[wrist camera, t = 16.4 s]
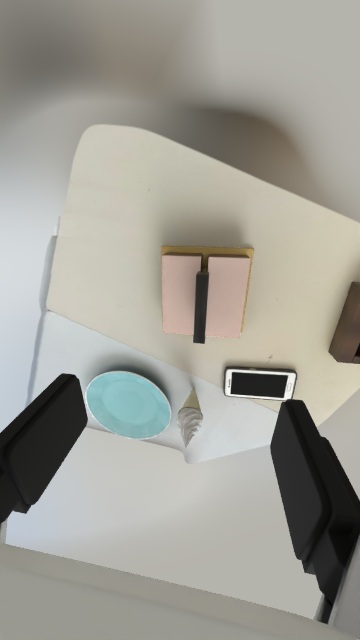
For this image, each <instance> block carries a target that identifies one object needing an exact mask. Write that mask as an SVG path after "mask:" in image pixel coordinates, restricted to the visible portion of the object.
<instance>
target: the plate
mask: <svg viewBox="0 0 360 640" xmlns="http://www.w3.org/2000/svg"><path fill="white" fill-rule="evenodd" d="M86 403H87V407H88V409H89V411H90V413H91V414H92V416H93V417H94V418H95V420H96V421H97V422H98V423H99V424H101V425H102V426H103V427H104V428H106V429H107V430H109V431H111V432H113V433H115V434H117V435H119V436H122V437H125V438H130V439H138V440H142V439H150V438H153V437H156V436H158V435H160V434H161V433H162V432H164V431H165V430H166V428H167V427H168V425H169V424H170V421H171V417H172V411H171V406H170V403H169V401H168V399H167V397H166V396H165V394H164V393H163V392H162V391H161V390H160V389H159V388H158V387H157V386H156V385H155V384H154V383H153V382H151V381H150V380H149V379H147V378H145V377H143V376H141V375H139V374H136V373H133V372H128V371H109V372H105V373H102V374H100V375H98V376H96V377H95V378H93V379H92V380H91V382H90V383H89V384H88V386H87V389H86Z"/></svg>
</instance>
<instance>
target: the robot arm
mask: <svg viewBox="0 0 360 640" xmlns="http://www.w3.org/2000/svg"><path fill="white" fill-rule="evenodd" d="M87 421H88V417H87V413H86V409H85V404H84V400H83V395H82V391H81V386H80V382H79V379H78V378H77V377H76V376H75V375H73V374H64V373H63V374H61V375H59V376H58V377H57V378H56V379H55V380H54V381H53V382H52V383H51V384H50V385H49V386H48V387H47V388H46V389H45V390H44V391H43V392H42V393H41V394H40V395H39V396H38V397H37V398H36V399H35V400H34V401H33V402H32V403H31V404H30V405H29V406H28V407H26V408H25V409H24V410H23V411H22V412H21V413H20V414H19V415H18V417H16V418H15V419H14V420H13V421H12V422H11V423H10V424H9V425H8V426H7V427H6V428H5V429H4V430H3V431H2V432H1V433H0V640H360V501H359V499H358V496H357V495H356V493H355V491H354V489H353V487H352V485H351V483H350V481H349V479H348V477H347V475H346V473H345V471H344V469H343V468H342V466H341V464H340V462H339V460H338V458H337V456H336V454H335V452H334V450H333V448H332V446H331V444H330V443H329V441H328V440H327V439H326V438H325V437H321V436H320V434H319V432H318V430H317V428H316V426H315V424H314V422H313V420H312V418H311V416H310V413H309V411H308V409H307V407H306V405H305V403H304V402H303V401H302V400H294V399H287V400H286V402H282V404H281V407H280V411H279V415H278V418H277V422H276V426H275V430H274V433H273V437H272V441H271V446H270V449H271V455H272V460H273V464H274V468H275V472H276V476H277V480H278V485H279V489H280V493H281V497H282V502H283V505H284V510H285V515H286V519H287V523H288V527H289V531H290V536H291V539H292V544H293V548H294V552H295V555H296V557H297V559H299V560H302V564H303V568H304V572H305V573H309V574H313V575H316V578H317V581H318V585H319V588H320V590H321V592H322V593H323V594H322V597H321V600H320V603H319V605H318V608H317V611H316V614H315V617H314V620H312V619H309V618H306V617H303V616H300V615H297V614H293V613H289V612H286V611H282V610H278V609H274V608H271V607H267V606H263V605H259V604H256V603H252V602H248V601H244V600H240V599H236V598H232V597H228V596H223V595H220V594H216V593H211V592H207V591H203V590H199V589H195V588H190V587H186V586H182V585H178V584H174V583H169V582H166V581H162V580H158V579H153V578H149V577H145V576H141V575H136V574H132V573H128V572H123V571H119V570H115V569H111V568H107V567H102V566H98V565H94V564H90V563H85V562H81V561H77V560H73V559H68V558H64V557H59V556H55V555H51V554H46V553H42V552H38V551H33V550H29V549H24V548H20V547H16V546H11V545H7V544H5V538H6V528H7V527H6V526H7V518H8V516H9V515H10V513H11V512H12V511H16V512H20V513H25V514H26V513H27V511H28V510H29V508H30V507H31V505H34V504H35V503H36V502H37V501H38V500H39V498H40V497H41V495H42V494H43V492H44V490H45V489H46V487H47V486H48V484H49V483H50V481H51V479H52V478H53V476H54V475H55V473H56V472H57V470H58V469H59V467H60V466H61V464H62V462H63V461H64V459H65V458H66V456H67V455H68V453H69V451H70V450H71V448H72V447H73V445H74V444H75V442H76V441H77V439H78V437H79V436H80V434H81V433H82V431H83V430H84V428H85V427H86V424H87Z"/></svg>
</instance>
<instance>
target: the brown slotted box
mask: <svg viewBox="0 0 360 640" xmlns="http://www.w3.org/2000/svg"><path fill="white" fill-rule="evenodd" d="M329 353H330V354H331V355H332V356H333V357H334V359H335V360H336V361H337V362H343V363H354V364H360V282H352V284H351V287H350V290H349V293H348V296H347V299H346V302H345V305H344V308H343V311H342V314H341V317H340V320H339V323H338V326H337V329H336V332H335V335H334V338H333V340H332V343H331V346H330V349H329Z"/></svg>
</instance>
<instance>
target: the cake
mask: <svg viewBox="0 0 360 640" xmlns="http://www.w3.org/2000/svg"><path fill="white" fill-rule="evenodd" d="M253 251H254V249H253V248H220V247H184V246H162V299H163V332H164V333H176V334H189V335H194V313H195V290H196V274H197V271H201V272H203V269H204V266H206V272H209V287H208V302H207V316H206V331H205V336H214V337H226V338H238V339H239V338H240V332H241V333H242V328H243V321H244V314H245V307H246V300H247V293H248V286H249V279H250V272H251V265H252V258H253Z"/></svg>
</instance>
